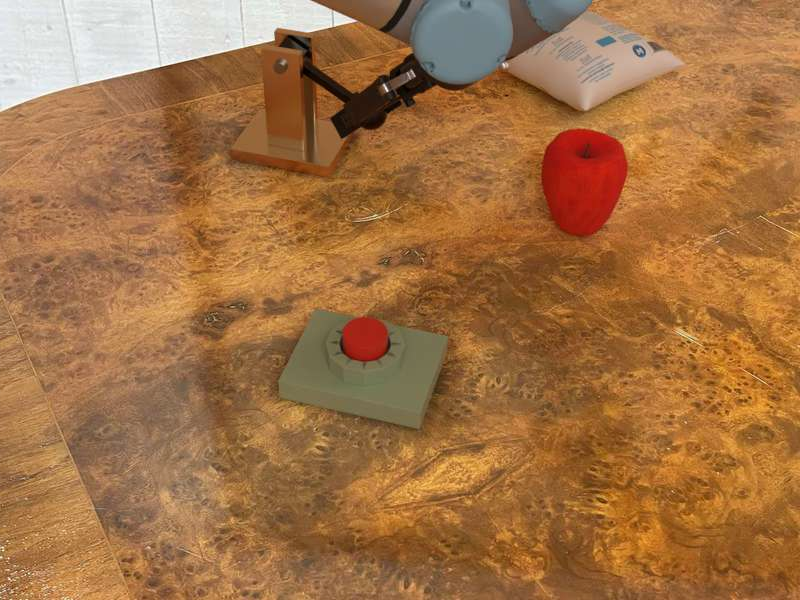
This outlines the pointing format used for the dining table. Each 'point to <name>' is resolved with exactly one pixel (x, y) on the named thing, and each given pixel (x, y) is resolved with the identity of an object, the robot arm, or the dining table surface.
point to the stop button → (365, 339)
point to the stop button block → (364, 371)
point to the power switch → (290, 115)
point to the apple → (583, 179)
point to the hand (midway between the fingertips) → (352, 120)
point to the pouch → (592, 62)
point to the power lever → (331, 84)
